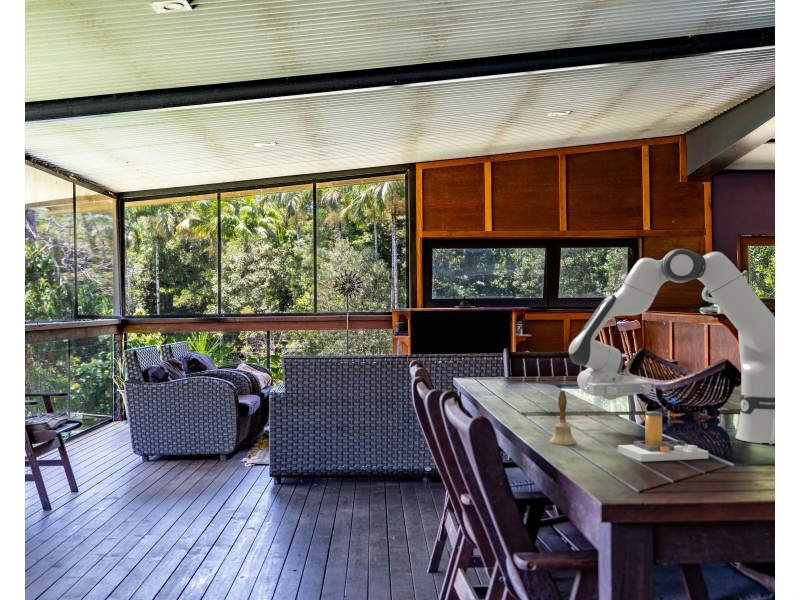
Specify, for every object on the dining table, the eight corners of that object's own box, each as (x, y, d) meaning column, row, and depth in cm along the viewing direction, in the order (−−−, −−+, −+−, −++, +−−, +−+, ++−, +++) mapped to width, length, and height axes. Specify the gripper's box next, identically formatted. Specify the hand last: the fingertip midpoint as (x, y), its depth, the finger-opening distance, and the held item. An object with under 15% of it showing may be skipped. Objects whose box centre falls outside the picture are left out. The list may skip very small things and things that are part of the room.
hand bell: (557, 445, 210) (557, 393, 210) (544, 440, 218) (544, 389, 218) (581, 444, 212) (582, 392, 212) (568, 439, 220) (568, 388, 220)
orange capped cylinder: (655, 445, 201) (655, 411, 201) (665, 448, 197) (665, 413, 197) (642, 446, 200) (642, 411, 200) (651, 449, 196) (651, 413, 196)
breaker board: (682, 449, 206) (682, 438, 206) (708, 458, 194) (708, 447, 194) (617, 452, 201) (617, 441, 201) (640, 461, 190) (640, 449, 190)
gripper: (579, 377, 226) (601, 381, 212) (636, 374, 230) (660, 378, 217) (580, 396, 226) (601, 402, 212) (636, 393, 230) (661, 399, 217)
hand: (632, 390), depth 215 cm, fingers open, 8 cm apart
